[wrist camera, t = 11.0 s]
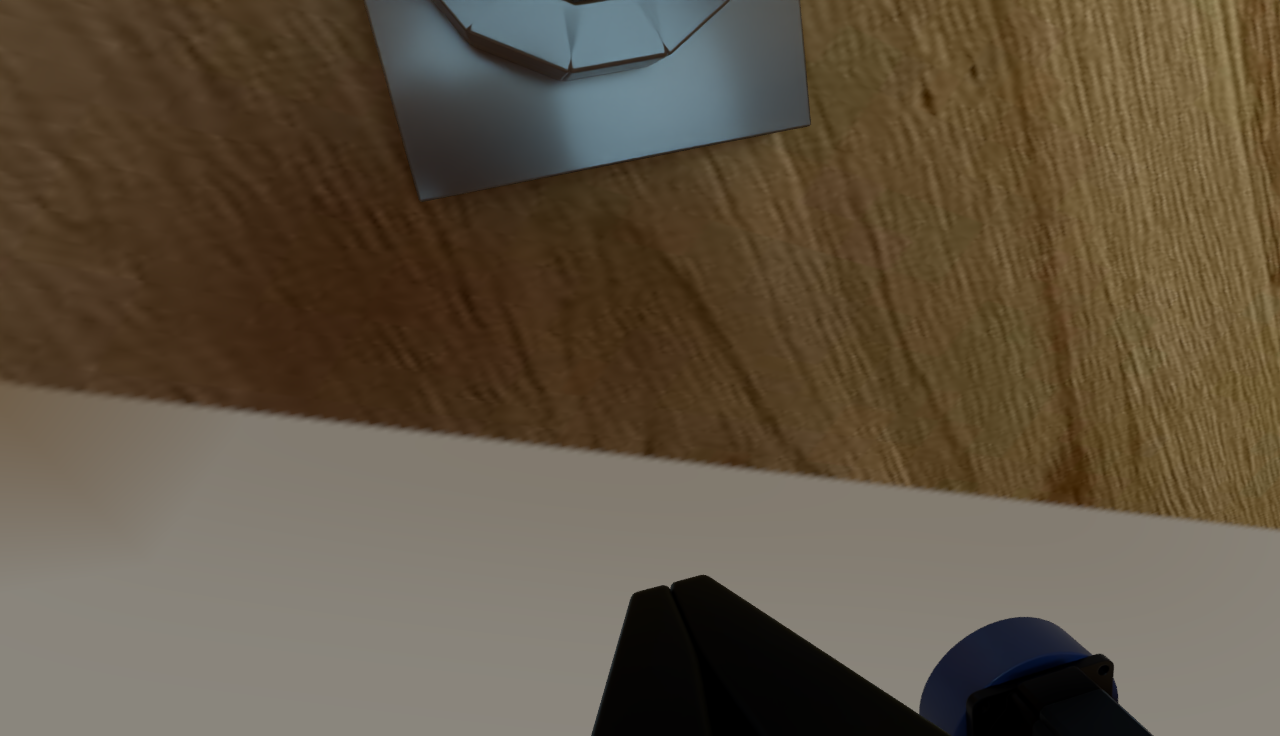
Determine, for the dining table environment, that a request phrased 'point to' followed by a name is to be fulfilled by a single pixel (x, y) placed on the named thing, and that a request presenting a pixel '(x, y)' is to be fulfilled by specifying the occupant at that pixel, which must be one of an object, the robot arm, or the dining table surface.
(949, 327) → the dining table surface
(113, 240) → the dining table surface
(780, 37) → the button box
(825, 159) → the dining table surface
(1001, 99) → the dining table surface
